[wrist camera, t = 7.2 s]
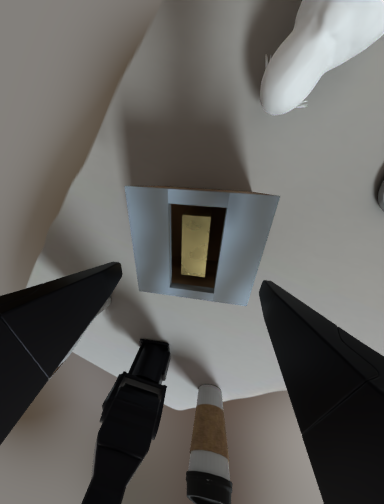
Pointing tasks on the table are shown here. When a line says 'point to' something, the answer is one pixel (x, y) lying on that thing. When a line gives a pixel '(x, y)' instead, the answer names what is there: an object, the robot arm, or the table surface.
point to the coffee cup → (209, 451)
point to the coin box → (219, 245)
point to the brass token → (195, 240)
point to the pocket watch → (381, 196)
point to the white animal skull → (318, 48)
